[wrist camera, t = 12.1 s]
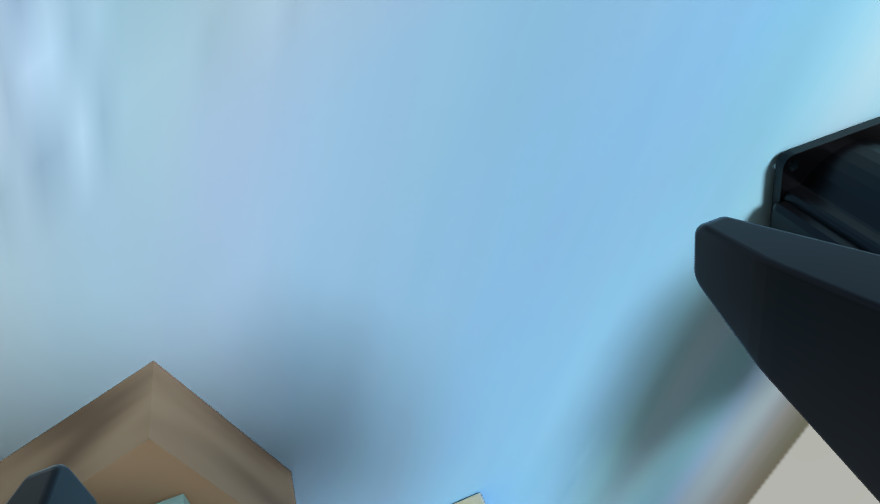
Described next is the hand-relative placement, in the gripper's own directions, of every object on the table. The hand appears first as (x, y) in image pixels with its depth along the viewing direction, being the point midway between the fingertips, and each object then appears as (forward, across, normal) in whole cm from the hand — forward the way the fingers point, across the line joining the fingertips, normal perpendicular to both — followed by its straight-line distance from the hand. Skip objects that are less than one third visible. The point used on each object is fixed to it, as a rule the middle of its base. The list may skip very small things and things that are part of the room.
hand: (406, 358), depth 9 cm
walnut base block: (+13, +10, +13) cm, 21 cm away
